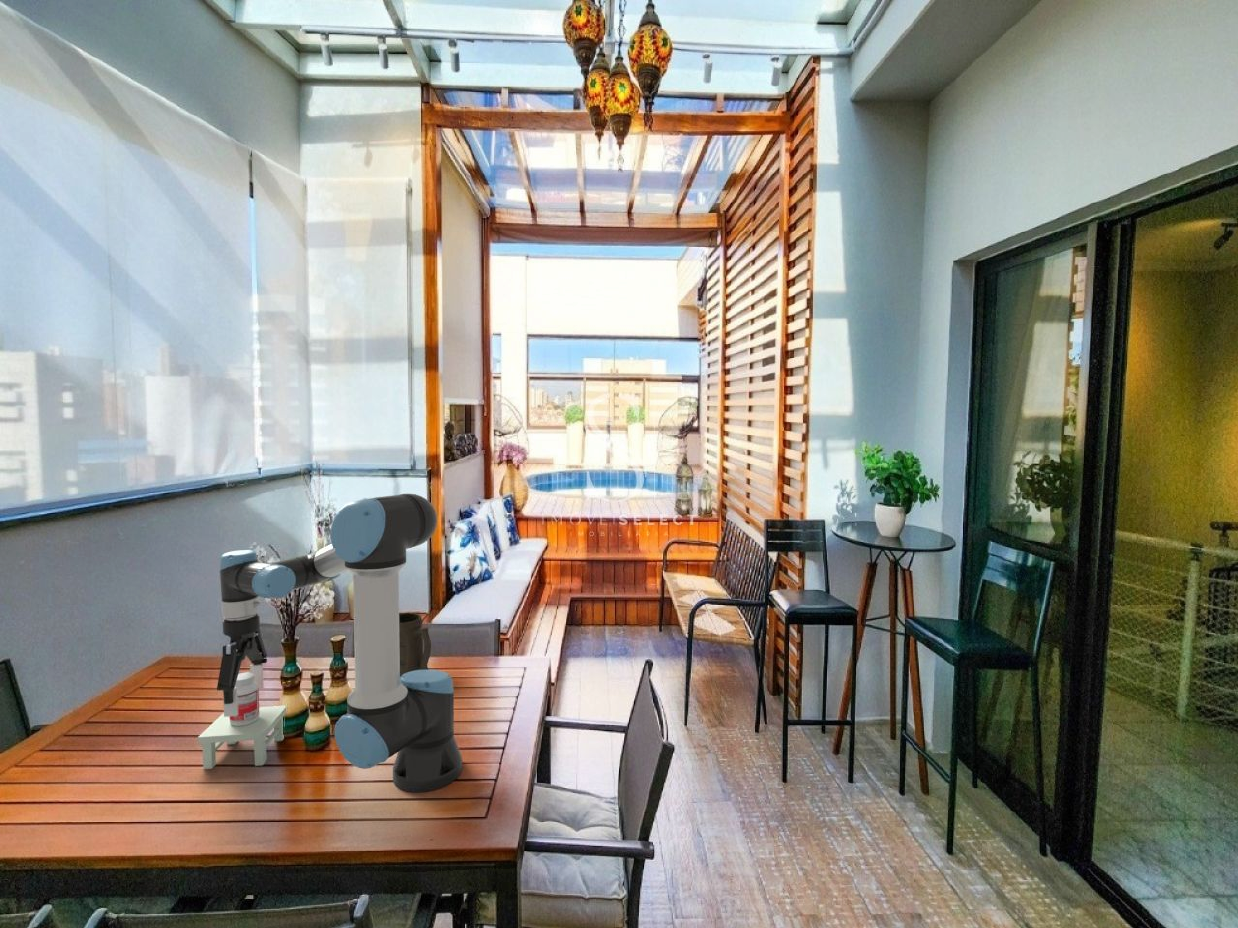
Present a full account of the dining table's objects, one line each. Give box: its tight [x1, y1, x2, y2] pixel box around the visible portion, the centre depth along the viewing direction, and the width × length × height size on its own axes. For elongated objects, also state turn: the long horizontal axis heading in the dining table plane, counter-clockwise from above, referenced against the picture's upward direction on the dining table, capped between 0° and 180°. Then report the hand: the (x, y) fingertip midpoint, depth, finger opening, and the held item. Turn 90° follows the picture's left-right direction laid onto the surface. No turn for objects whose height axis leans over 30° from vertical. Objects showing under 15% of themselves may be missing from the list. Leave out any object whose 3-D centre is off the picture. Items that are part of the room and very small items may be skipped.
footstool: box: [197, 705, 288, 770], centre depth 148 cm, size 14×14×8 cm
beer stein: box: [399, 612, 432, 677], centre depth 189 cm, size 15×11×20 cm
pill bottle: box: [230, 671, 260, 726], centre depth 147 cm, size 6×6×11 cm
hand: (244, 702), depth 147 cm, fingers open, 13 cm apart
